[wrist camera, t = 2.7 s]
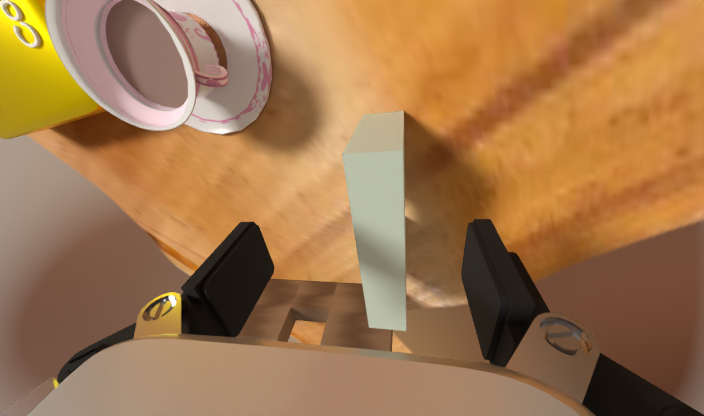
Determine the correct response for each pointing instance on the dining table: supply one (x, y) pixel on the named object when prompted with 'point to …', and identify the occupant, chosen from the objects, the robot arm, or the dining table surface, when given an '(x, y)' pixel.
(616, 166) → the dining table surface
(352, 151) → the sage cross-piece
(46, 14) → the teacup
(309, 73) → the dining table surface
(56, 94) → the element tile
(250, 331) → the walnut upright plate
